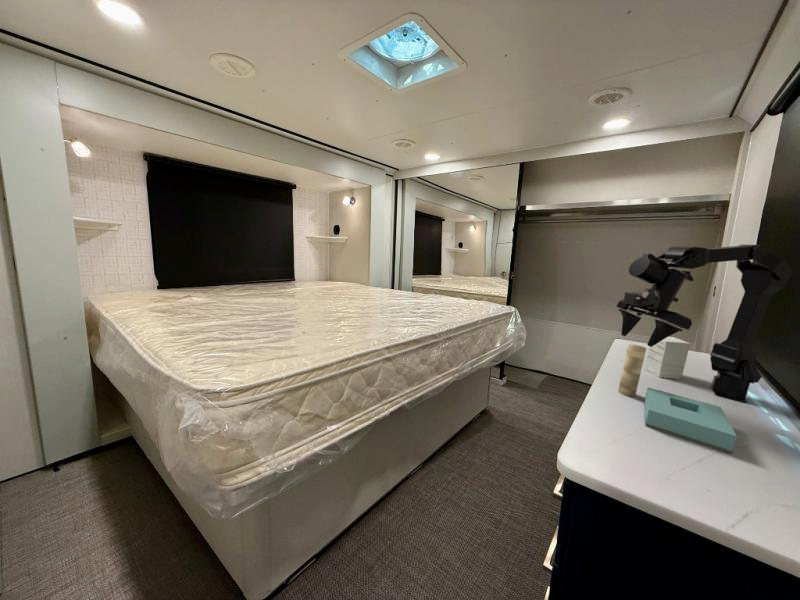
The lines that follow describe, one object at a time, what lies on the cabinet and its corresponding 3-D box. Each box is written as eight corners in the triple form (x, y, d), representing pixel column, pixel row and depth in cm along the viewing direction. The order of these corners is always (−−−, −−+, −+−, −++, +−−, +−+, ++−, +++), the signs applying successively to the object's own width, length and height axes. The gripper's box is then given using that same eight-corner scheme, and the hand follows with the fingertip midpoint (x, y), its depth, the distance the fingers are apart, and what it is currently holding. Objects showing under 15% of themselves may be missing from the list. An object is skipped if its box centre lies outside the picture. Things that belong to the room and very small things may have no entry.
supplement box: (665, 371, 108) (673, 336, 106) (682, 379, 101) (691, 343, 99) (643, 368, 109) (650, 334, 107) (658, 377, 102) (666, 340, 99)
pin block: (716, 421, 75) (720, 406, 74) (731, 453, 63) (736, 436, 62) (644, 400, 84) (647, 387, 83) (645, 425, 71) (648, 409, 70)
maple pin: (635, 393, 88) (646, 346, 85) (635, 398, 85) (646, 350, 82) (618, 388, 90) (628, 343, 88) (617, 393, 87) (628, 346, 85)
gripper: (614, 275, 92) (589, 321, 95) (671, 283, 74) (638, 341, 76) (645, 289, 94) (619, 334, 96) (708, 300, 75) (675, 356, 78)
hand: (635, 340), depth 87 cm, fingers open, 9 cm apart
